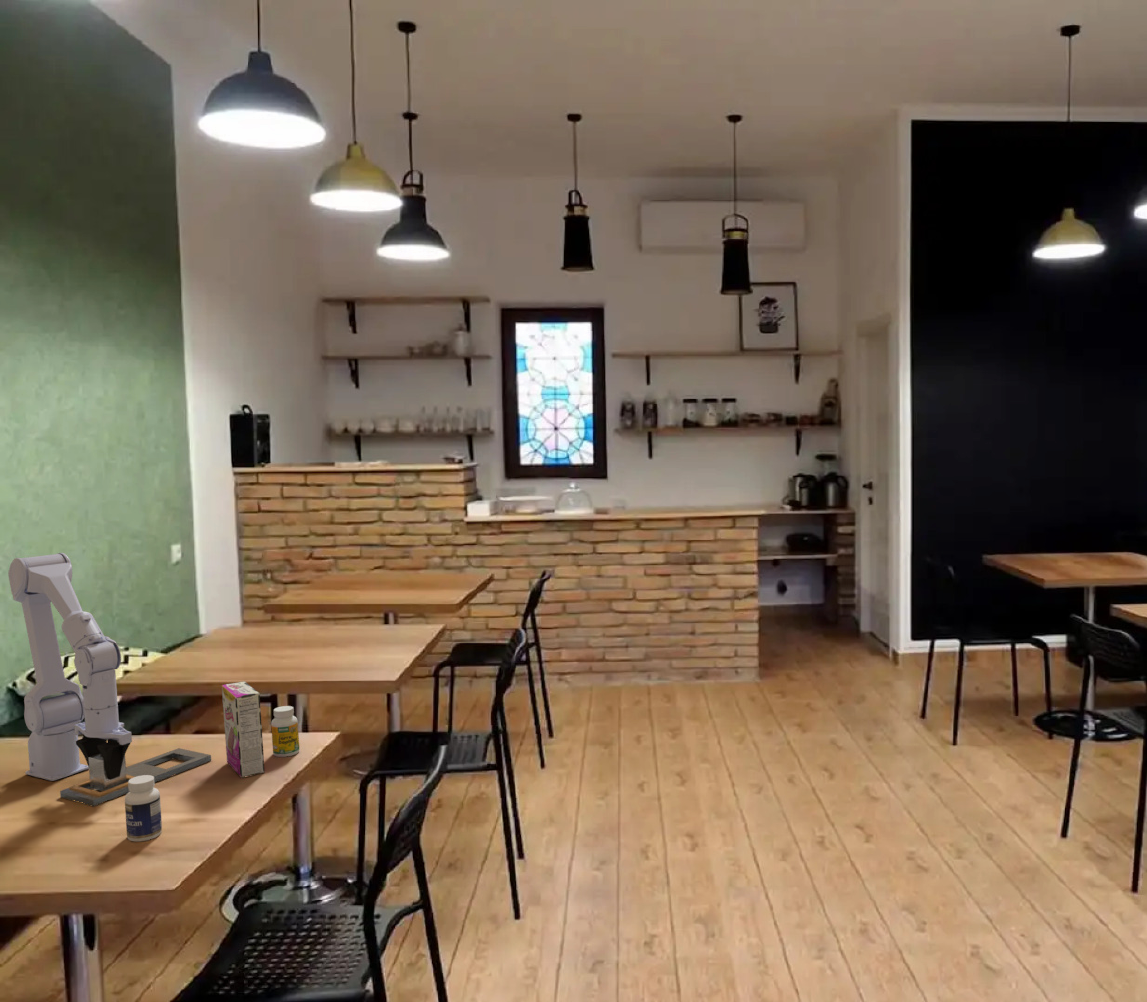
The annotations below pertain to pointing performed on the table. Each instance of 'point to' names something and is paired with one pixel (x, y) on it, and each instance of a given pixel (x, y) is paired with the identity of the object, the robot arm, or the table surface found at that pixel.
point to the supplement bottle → (285, 732)
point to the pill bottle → (142, 809)
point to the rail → (146, 767)
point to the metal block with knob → (104, 774)
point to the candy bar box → (243, 728)
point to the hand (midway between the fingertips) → (105, 775)
